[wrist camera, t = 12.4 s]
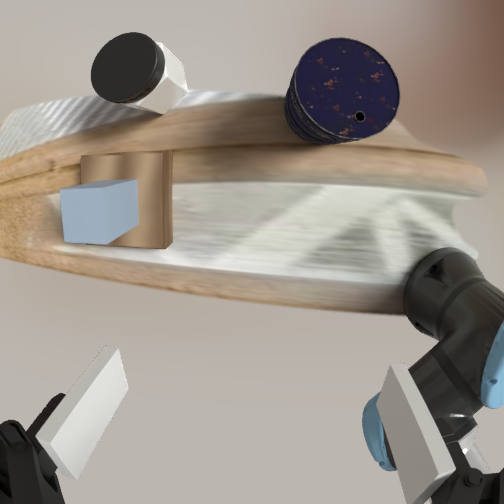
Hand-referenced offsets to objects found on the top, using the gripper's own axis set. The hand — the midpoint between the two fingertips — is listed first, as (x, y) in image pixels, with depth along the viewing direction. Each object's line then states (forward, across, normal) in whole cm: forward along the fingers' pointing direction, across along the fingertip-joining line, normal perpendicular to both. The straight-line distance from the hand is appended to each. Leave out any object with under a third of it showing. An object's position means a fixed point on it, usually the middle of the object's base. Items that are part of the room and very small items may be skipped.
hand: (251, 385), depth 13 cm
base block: (+29, +20, -5) cm, 36 cm away
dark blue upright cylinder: (+30, -6, -17) cm, 35 cm away
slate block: (+25, +20, -5) cm, 32 cm away
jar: (+29, +15, -21) cm, 39 cm away
